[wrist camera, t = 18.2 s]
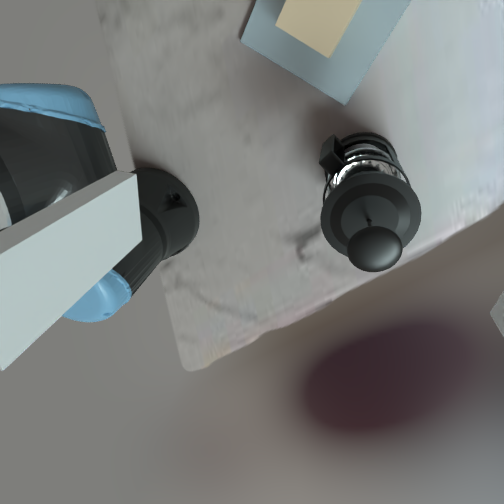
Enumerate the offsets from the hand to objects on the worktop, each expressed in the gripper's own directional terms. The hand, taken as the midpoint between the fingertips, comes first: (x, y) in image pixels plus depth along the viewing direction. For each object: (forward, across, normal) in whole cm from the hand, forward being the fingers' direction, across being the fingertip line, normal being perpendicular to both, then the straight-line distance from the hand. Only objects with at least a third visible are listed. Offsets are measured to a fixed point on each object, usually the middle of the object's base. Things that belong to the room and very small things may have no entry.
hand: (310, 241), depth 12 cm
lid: (+37, -3, +9) cm, 38 cm away
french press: (+37, +5, -7) cm, 38 cm away
